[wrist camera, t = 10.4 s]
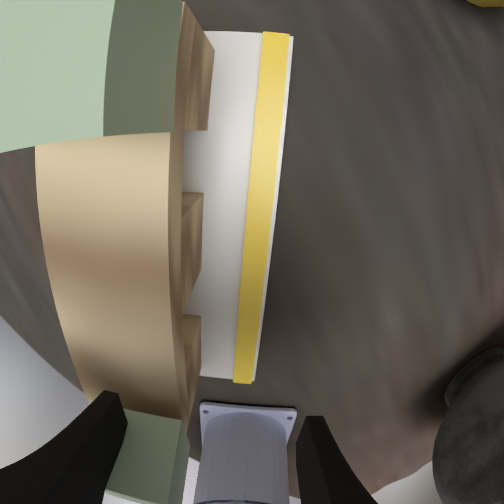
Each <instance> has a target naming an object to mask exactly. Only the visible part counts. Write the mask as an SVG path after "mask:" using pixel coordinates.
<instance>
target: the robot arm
mask: <svg viewBox="0 0 504 504" xmlns="http://www.w3.org/2000/svg"><path fill="white" fill-rule="evenodd" d="M296 416H297V410H296V409H294V408H272V407H255V406H242V405H231V404H221V403H212V402H202V403H201V404H200V422H201V438H202V453H201V459H200V465H199V472H198V477H197V484H196V490H195V496H194V503H193V504H289V483H288V463H287V442H288V439H289V437H290V434H291V431H292V428H293V425H294V422H295V419H296ZM127 425H128V421H127V418H126V415H125V412H124V409H123V406H122V403H121V400H120V397H119V394H118V393H115V392H111V391H108V390H104V391H102V392H101V393H100V394H99V395H98V396H97V397H96V399H95V400H94V401H93V402H92V403H91V404H90V405H89V406H88V407H87V408H86V409H85V410H84V411H83V412H82V413H81V414H80V415H79V416H78V417H76V418H75V419H74V420H73V421H72V422H71V423H70V424H69V425H68V426H67V427H66V428H65V429H64V430H62V431H61V432H60V433H59V434H58V435H56V436H55V437H54V438H53V439H52V440H50V441H49V442H48V443H46V444H45V445H43V446H42V447H41V448H39V449H38V450H36V451H35V452H33V453H31V454H30V455H28V456H26V457H25V458H23V459H21V460H19V461H17V462H15V463H13V464H11V465H9V466H6V467H4V468H2V469H0V504H102V501H103V496H104V492H105V489H106V486H107V483H108V480H109V478H110V475H111V472H112V470H113V467H114V465H115V462H116V460H117V457H118V455H119V452H120V449H121V447H122V444H123V441H124V437H125V433H126V429H127ZM296 468H297V476H298V483H299V491H300V498H301V504H378V503H377V502H376V501H375V500H374V499H373V497H372V496H371V495H370V494H369V493H368V491H367V490H366V489H365V488H364V486H363V485H362V484H361V482H360V481H359V479H358V478H357V477H356V475H355V474H354V472H353V471H352V469H351V468H350V466H349V464H348V463H347V461H346V459H345V458H344V456H343V454H342V453H341V451H340V449H339V447H338V445H337V444H336V442H335V440H334V438H333V436H332V434H331V432H330V430H329V428H328V425H327V423H326V421H325V419H324V417H323V416H306V418H305V421H304V424H303V426H302V429H301V432H300V434H299V437H298V439H297V442H296Z"/></svg>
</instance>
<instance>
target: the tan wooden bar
mask: <svg viewBox="0 0 504 504" xmlns="http://www.w3.org/2000/svg"><path fill="white" fill-rule="evenodd" d="M182 3H183V6H182V15H181V24H180V34H179V44H178V56H177V70H176V86H175V106H174V132H165V133H144V134H128V135H115V136H104V137H94V138H86V139H77V140H70V141H62V142H56V143H49V144H43V145H37V146H35V165H36V186H37V199H38V209H39V219H40V227H41V234H42V241H43V247H44V253H45V259H46V264H47V270H48V275H49V279H50V284H51V288H52V293H53V297H54V301H55V305H56V309H57V313H58V316H59V320H60V324H61V327H62V330H63V334H64V337H65V340H66V343H67V346H68V350H69V353H70V355H71V358H72V361H73V364H74V367H75V370H76V372H77V375H78V378H79V380H80V383H81V385H82V388H83V390H84V393H85V395H86V397H87V400H88V402H89V405H90V404H91V403H92V402H93V401H94V400H95V399H96V397H97V396H98V395H99V394H100V393H101V392H102V391H104V390H108V391H111V392H115V393H118V394H119V397H120V400H121V403H122V406H123V408H124V409H129V410H133V411H137V412H142V413H146V414H151V415H156V416H161V417H166V418H172V419H178V420H182V423H183V426H184V429H185V432H186V434H187V429H188V424H189V420H190V415H191V411H192V406H193V402H194V397H195V393H196V388H197V384H198V380H199V375H200V371H201V367H202V359H201V316H197V315H188V314H183V313H184V311H185V308H186V306H187V303H188V300H189V298H190V295H191V293H192V290H193V288H194V286H195V283H196V281H197V278H198V276H199V273H200V271H201V262H202V225H203V200H204V193H197V192H182V169H183V149H184V132H185V130H201V131H208V118H209V106H210V95H211V84H212V74H213V64H214V54H215V50H214V48H213V46H212V45H211V43H210V41H209V40H208V38H207V36H206V35H205V33H204V31H203V30H202V28H201V27H200V25H199V23H198V22H197V20H196V18H195V17H194V15H193V14H192V12H191V10H190V9H189V7H188V6H187V4H186V3H185V2H182Z"/></svg>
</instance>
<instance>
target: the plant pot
mask: <svg viewBox="0 0 504 504" xmlns="http://www.w3.org/2000/svg"><path fill="white" fill-rule="evenodd" d="M466 1H468V2H470V3H472V4H474V5H477V6H480V7H504V0H466Z"/></svg>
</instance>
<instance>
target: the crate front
mask: <svg viewBox="0 0 504 504" xmlns="http://www.w3.org/2000/svg"><path fill="white" fill-rule="evenodd" d="M182 6H183V3H182V2H181V0H0V153H2V152H6V151H11V150H16V149H21V148H26V147H32V146H37V145H43V144H49V143H56V142H62V141H70V140H77V139H86V138H94V137H104V136H115V135H128V134H144V133H165V132H174V106H175V86H176V70H177V56H178V44H179V34H180V24H181V15H182Z"/></svg>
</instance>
